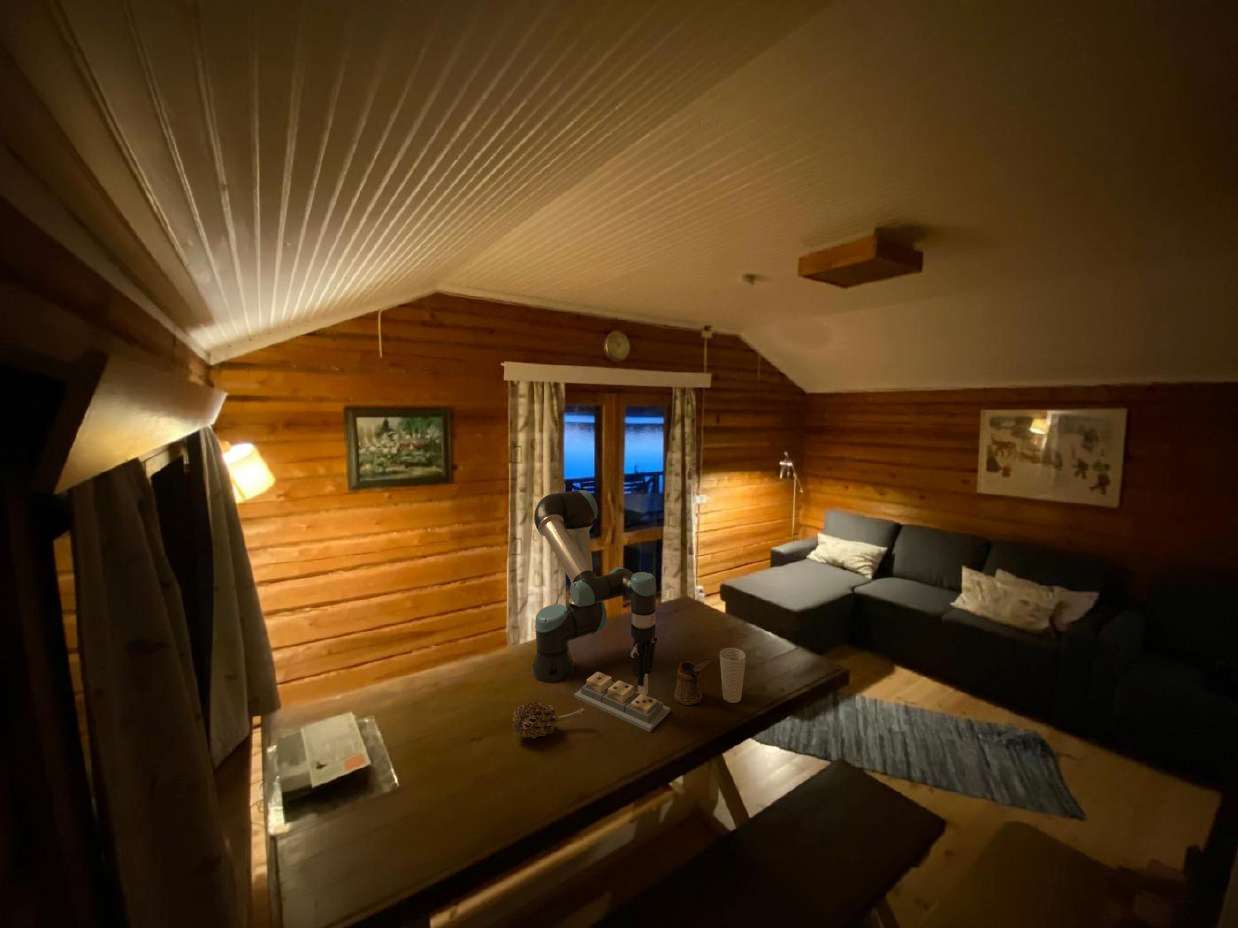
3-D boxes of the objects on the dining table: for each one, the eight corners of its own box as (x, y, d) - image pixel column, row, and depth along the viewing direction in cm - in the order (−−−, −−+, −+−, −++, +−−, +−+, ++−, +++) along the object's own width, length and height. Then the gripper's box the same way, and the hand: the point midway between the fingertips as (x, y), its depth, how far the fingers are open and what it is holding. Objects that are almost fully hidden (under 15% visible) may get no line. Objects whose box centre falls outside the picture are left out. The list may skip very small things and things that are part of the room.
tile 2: (608, 697, 165) (607, 688, 165) (618, 688, 170) (618, 679, 170) (623, 703, 162) (622, 694, 161) (633, 694, 167) (633, 685, 166)
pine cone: (515, 751, 146) (513, 719, 144) (510, 730, 155) (509, 700, 153) (589, 733, 153) (588, 702, 151) (581, 714, 162) (580, 685, 160)
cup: (713, 697, 169) (714, 654, 167) (728, 687, 175) (729, 644, 173) (735, 708, 163) (736, 663, 161) (750, 697, 169) (751, 653, 167)
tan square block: (586, 687, 171) (586, 679, 170) (597, 679, 175) (597, 670, 175) (600, 694, 167) (600, 685, 167) (611, 685, 172) (611, 676, 171)
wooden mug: (694, 716, 160) (694, 663, 157) (668, 694, 171) (669, 644, 169) (716, 707, 164) (717, 655, 162) (690, 686, 176) (690, 637, 173)
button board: (574, 697, 171) (573, 688, 170) (596, 680, 180) (596, 671, 180) (649, 732, 153) (649, 721, 152) (670, 711, 162) (670, 701, 162)
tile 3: (630, 711, 160) (630, 702, 160) (641, 702, 165) (641, 692, 165) (646, 718, 157) (646, 709, 156) (657, 708, 162) (657, 699, 161)
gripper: (641, 635, 149) (641, 708, 153) (664, 618, 160) (663, 687, 164) (620, 628, 154) (621, 699, 158) (644, 612, 164) (644, 679, 168)
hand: (642, 693), depth 161 cm, fingers closed
